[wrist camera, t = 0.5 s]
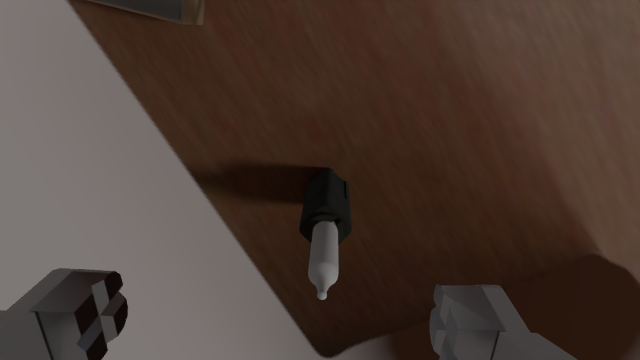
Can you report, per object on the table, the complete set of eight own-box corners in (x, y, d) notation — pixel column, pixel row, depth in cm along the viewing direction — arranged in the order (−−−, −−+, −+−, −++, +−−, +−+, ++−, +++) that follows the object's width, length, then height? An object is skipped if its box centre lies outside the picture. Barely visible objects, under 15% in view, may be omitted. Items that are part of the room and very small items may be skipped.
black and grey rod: (303, 187, 57) (281, 298, 33) (326, 164, 55) (320, 263, 32) (328, 208, 58) (323, 330, 35) (351, 186, 56) (363, 297, 33)
